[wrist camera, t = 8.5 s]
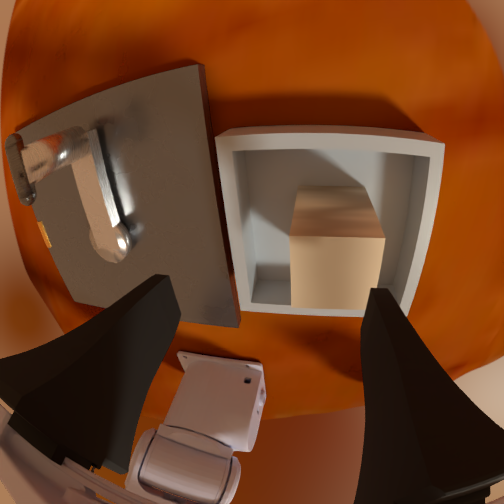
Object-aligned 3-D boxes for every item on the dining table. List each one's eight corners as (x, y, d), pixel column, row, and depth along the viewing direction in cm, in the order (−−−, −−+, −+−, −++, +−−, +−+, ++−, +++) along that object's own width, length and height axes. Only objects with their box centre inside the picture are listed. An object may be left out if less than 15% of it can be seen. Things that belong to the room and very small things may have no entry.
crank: (137, 256, 21) (89, 316, 16) (105, 254, 22) (56, 307, 16) (98, 103, 15) (18, 128, 9) (65, 116, 15) (-8, 145, 10)
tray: (424, 132, 13) (444, 143, 11) (399, 288, 19) (406, 317, 17) (231, 128, 16) (214, 137, 13) (249, 283, 22) (240, 310, 20)
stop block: (364, 187, 16) (385, 238, 11) (360, 245, 18) (371, 309, 13) (298, 185, 16) (289, 235, 12) (299, 243, 19) (291, 307, 14)
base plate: (204, 65, 14) (196, 64, 13) (241, 319, 25) (238, 328, 24) (19, 131, 18) (11, 134, 17) (79, 296, 29) (74, 302, 28)
